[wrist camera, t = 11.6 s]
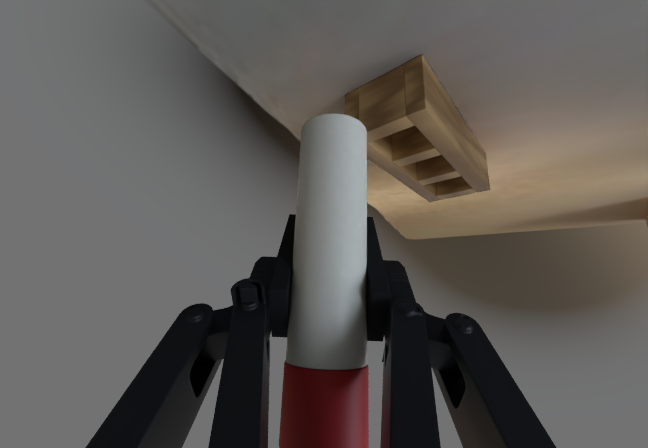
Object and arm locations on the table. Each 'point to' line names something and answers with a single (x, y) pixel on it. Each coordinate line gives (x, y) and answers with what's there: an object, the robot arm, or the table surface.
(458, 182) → the pen holder
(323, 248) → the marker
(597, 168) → the table surface
